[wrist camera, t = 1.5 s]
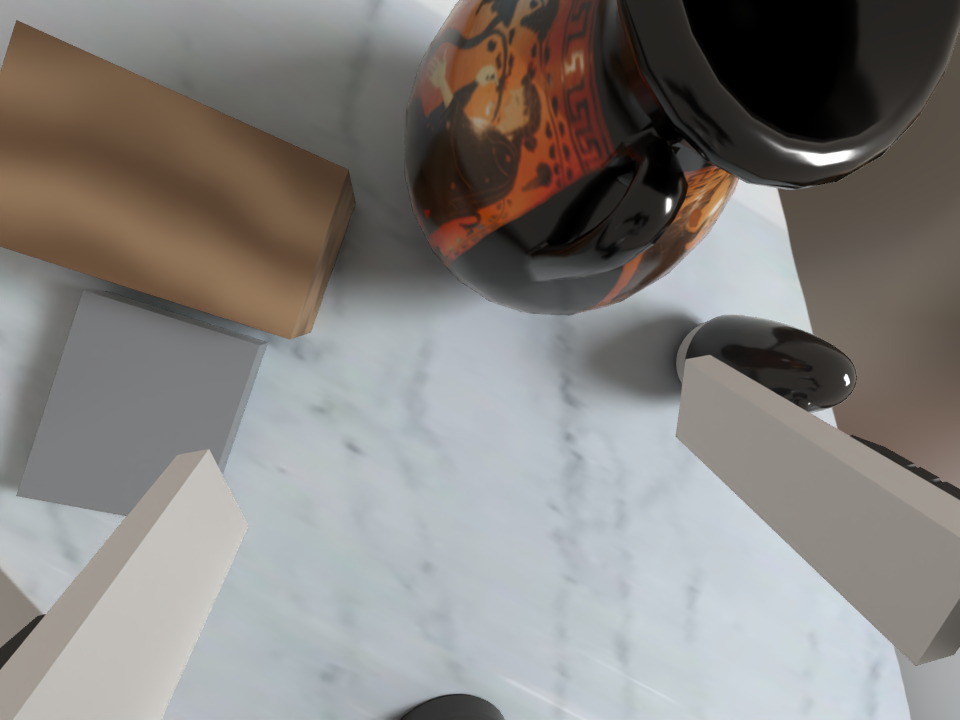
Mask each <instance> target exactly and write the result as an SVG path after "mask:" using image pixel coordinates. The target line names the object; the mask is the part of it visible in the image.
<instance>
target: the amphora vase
mask: <svg viewBox="0 0 960 720" xmlns="http://www.w3.org/2000/svg"><path fill="white" fill-rule="evenodd" d="M959 31H960V0H459V1H458V2H457V3H456V5H455V6H454V8H453V9H452V11H451V13H450V14H449V16H448V17H447V19H446V20H445V22H444V24H443V25H442V27H441V28H440V30H439V31H438V33H437V35H436V36H435V38H434V39H433V41H432V42H431V44H430V46H429V48H428V50H427V52H426V54H425V56H424V58H423V59H422V61H421V63H420V65H419V68H418V71H417V75H416V78H415V82H414V85H413V89H412V92H411V96H410V99H409V103H408V106H407V110H406V122H405V160H404V173H405V178H406V182H407V187H408V191H409V195H410V200H411V204H412V209H413V213H414V215H415V217H416V219H417V221H418V223H419V225H420V227H421V229H422V231H423V233H424V235H425V237H426V239H427V241H428V243H429V245H430V247H431V248H432V250H433V252H434V253H435V254H436V255H437V256H438V257H439V258H440V260H441V261H442V262H443V263H444V264H445V265H446V266H447V268H448V269H449V270H450V271H451V272H452V273H453V274H454V276H455V277H456V278H457V279H458V280H459V281H461V282H462V283H463V284H465V285H466V286H468V287H469V288H471V289H472V290H474V291H475V292H477V293H478V294H480V295H481V296H482V297H484V298H485V299H487V300H488V301H491V302H494V303H497V304H500V305H503V306H506V307H509V308H512V309H515V310H518V311H520V312H526V313H532V314H551V315H573V314H577V313H581V312H586V311H590V310H594V309H598V308H602V307H606V306H609V305H612V304H615V303H618V302H621V301H623V300H625V299H627V298H628V297H630V296H632V295H634V294H635V293H637V292H639V291H641V290H642V289H644V288H646V287H648V286H649V285H651V284H653V283H654V282H656V281H657V280H659V279H661V278H662V277H664V276H665V275H667V274H668V273H669V272H670V271H671V270H672V269H673V268H675V267H676V266H677V265H678V264H679V263H680V262H681V261H682V260H683V259H684V258H685V257H686V256H687V255H688V254H689V253H690V252H691V251H692V250H693V249H694V248H695V247H696V246H697V245H698V244H699V243H700V242H701V241H702V240H703V239H704V238H705V237H706V236H707V234H708V233H709V231H710V230H711V229H712V227H713V226H714V224H715V223H716V221H717V219H718V218H719V216H720V214H721V213H722V211H723V209H724V208H725V206H726V204H727V203H728V201H729V199H730V198H731V196H732V195H733V193H734V191H735V189H736V186H737V183H738V180H739V179H741V180H742V181H744V182H746V183H749V184H756V185H762V186H768V187H775V188H782V189H787V190H789V189H790V190H791V189H802V188H807V187H812V186H817V185H823V184H828V183H833V182H838V181H839V180H841V179H843V178H845V177H847V176H848V175H850V174H852V173H853V172H855V171H857V170H859V169H860V168H862V167H864V166H865V165H867V164H869V163H871V162H872V161H874V160H876V159H878V158H879V157H881V156H882V155H883V154H884V153H885V152H886V151H887V150H888V149H889V148H890V147H891V146H892V145H893V144H894V143H895V142H896V141H897V140H898V139H899V138H900V137H901V136H902V135H903V134H904V132H905V131H906V130H907V129H908V128H909V127H910V126H911V125H912V124H913V123H914V122H915V120H916V119H917V118H918V117H919V116H920V114H921V112H922V111H923V109H924V107H925V106H926V104H927V102H928V101H929V99H930V97H931V96H932V94H933V92H934V91H935V89H936V87H937V86H938V84H939V82H940V81H941V79H942V77H943V76H944V74H945V71H946V68H947V65H948V63H949V60H950V57H951V54H952V51H953V48H954V46H955V42H956V40H957V37H958V34H959Z"/></svg>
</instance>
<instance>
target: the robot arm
mask: <svg viewBox="0 0 960 720" xmlns="http://www.w3.org/2000/svg"><path fill="white" fill-rule="evenodd" d="M676 437H677V438H678V439H679V440H680V441H681V442H682V443H683V444H684V445H685V446H686V447H687V448H688V449H689V450H690V451H691V452H692V453H693V454H695V455H696V456H697V457H698V458H699V459H700V460H701V461H702V462H703V463H704V464H705V465H706V466H707V467H708V468H709V469H710V470H711V471H712V472H713V473H714V474H715V475H716V476H718V477H719V478H720V479H721V480H722V481H723V482H724V483H725V484H726V485H727V486H728V487H729V488H730V489H731V490H732V491H733V492H734V493H735V494H736V495H737V496H738V497H739V498H740V499H742V500H743V501H744V502H745V503H746V504H747V505H748V506H749V507H750V508H751V509H752V510H753V511H754V512H755V513H756V514H757V515H758V516H759V517H760V518H761V519H762V520H763V521H765V522H766V523H767V524H768V525H769V526H770V527H771V528H772V529H773V530H774V531H775V532H776V533H777V534H778V535H779V536H780V537H781V538H782V539H783V540H784V541H785V542H786V543H787V544H789V545H790V546H791V547H792V548H793V549H794V550H795V551H796V552H797V553H798V554H799V555H800V556H801V557H802V558H803V559H804V560H805V561H806V562H807V563H808V564H809V565H810V566H812V567H813V568H814V569H815V570H816V571H817V572H818V573H819V574H820V575H821V576H822V577H823V578H824V579H825V580H826V581H827V582H828V583H829V584H830V585H831V586H832V587H833V588H835V589H836V590H837V591H838V592H839V593H840V594H841V595H842V596H843V597H844V598H845V599H846V600H847V601H848V602H849V603H850V604H851V605H852V606H853V607H854V608H855V609H856V610H857V611H859V612H860V613H861V614H862V615H863V616H864V617H865V618H866V619H867V620H868V621H869V622H870V623H871V624H872V625H873V626H874V627H875V628H876V629H877V630H878V631H879V632H880V633H882V634H883V635H884V636H885V637H886V638H887V639H888V640H889V641H890V642H891V643H892V644H893V645H894V646H895V647H896V648H897V649H898V650H899V651H900V652H901V653H902V654H903V655H905V656H906V657H907V658H908V659H909V660H910V661H911V662H912V663H913V664H914V665H915V666H917V665H921V664H924V663H927V662H931V661H934V660H937V659H941V658H944V657H948V656H951V655H954V654H955V653H956V651H957V650H958V648H959V647H960V489H959V488H957V487H955V486H953V485H952V484H950V483H948V482H942V481H941V480H940V478H939V477H937V476H936V475H934V474H932V473H930V472H928V471H926V470H925V469H923V468H921V467H919V468H917V467H916V466H915V464H914V463H912V462H910V461H909V460H907V459H905V458H903V457H902V456H900V455H898V454H896V453H895V452H893V451H891V450H889V449H887V448H886V447H883V446H881V445H877V444H875V443H872V442H870V441H867V440H864V439H861V438H859V437H856V436H853V435H851V436H848V435H847V434H845V433H843V432H842V431H840V430H838V429H836V428H835V427H833V426H831V425H830V424H828V423H826V422H824V421H823V420H821V419H819V418H818V417H816V416H814V415H812V414H811V413H809V412H807V411H805V410H804V409H802V408H800V407H799V406H797V405H795V404H793V403H792V402H790V401H788V400H787V399H785V398H783V397H781V396H780V395H778V394H776V393H775V392H773V391H771V390H769V389H768V388H766V387H764V386H763V385H761V384H759V383H757V382H756V381H754V380H752V379H750V378H749V377H747V376H745V375H744V374H742V373H740V372H738V371H737V370H735V369H733V368H732V367H730V366H728V365H726V364H725V363H723V362H721V361H720V360H718V359H716V358H714V357H713V356H711V355H706V356H701V357H696V358H690V359H686V360H685V368H684V376H683V384H682V391H681V399H680V407H679V415H678V423H677V431H676ZM247 529H248V524H247V522H246V520H245V518H244V516H243V514H242V512H241V510H240V508H239V506H238V504H237V502H236V500H235V499H234V497H233V495H232V493H231V491H230V489H229V487H228V485H227V483H226V481H225V479H224V477H223V475H222V473H221V471H220V469H219V467H218V465H217V463H216V462H215V460H214V458H213V456H212V454H211V452H210V450H209V449H206V450H201V451H196V452H190V453H185V454H180V455H177V456H176V457H175V458H174V459H173V461H172V462H171V463H170V464H169V466H168V467H167V468H166V469H165V470H164V472H163V473H162V474H161V475H160V476H159V478H158V479H157V480H156V481H155V483H154V484H153V485H152V486H151V487H150V489H149V490H148V491H147V492H146V493H145V495H144V496H143V497H142V498H141V500H140V501H139V502H138V503H137V504H136V506H135V507H134V508H133V509H132V511H131V512H130V513H129V514H128V515H127V517H126V518H125V519H124V520H123V521H122V523H121V524H120V525H119V526H118V528H117V529H116V530H115V531H114V532H113V534H112V535H111V536H110V537H109V538H108V540H107V541H106V542H105V543H104V545H103V546H102V547H101V548H100V549H99V551H98V552H97V553H96V554H95V555H94V557H93V558H92V559H91V560H90V562H89V563H88V564H87V565H86V566H85V568H84V569H83V570H82V571H81V572H80V574H79V575H78V576H77V577H76V579H75V580H74V581H73V582H72V583H71V585H70V586H69V587H68V588H67V589H66V591H65V592H64V593H63V594H62V596H61V597H60V598H59V599H58V600H57V602H56V603H55V604H54V605H53V606H52V608H51V609H50V610H49V611H48V613H47V614H45V615H40V616H37V617H36V618H35V619H34V620H32V622H30V623H29V624H28V625H27V626H25V627H24V628H23V629H22V630H21V631H20V632H18V633H17V634H16V635H15V636H14V637H13V638H11V640H9V641H8V642H7V643H6V644H5V645H4V646H2V647H1V648H0V720H162V717H163V715H164V713H165V711H166V709H167V706H168V704H169V702H170V700H171V697H172V695H173V693H174V691H175V689H176V686H177V684H178V682H179V680H180V677H181V675H182V673H183V671H184V669H185V666H186V664H187V662H188V660H189V657H190V655H191V653H192V651H193V649H194V646H195V644H196V642H197V640H198V637H199V635H200V633H201V631H202V629H203V626H204V624H205V622H206V620H207V618H208V615H209V613H210V611H211V609H212V606H213V604H214V602H215V600H216V598H217V595H218V593H219V591H220V589H221V586H222V584H223V582H224V580H225V578H226V575H227V573H228V571H229V569H230V566H231V564H232V562H233V560H234V558H235V555H236V553H237V551H238V549H239V546H240V544H241V542H242V540H243V538H244V535H245V533H246V531H247ZM401 720H505V719H504V717H503V715H502V714H501V713H500V711H499V710H498V709H497V708H496V707H495V706H494V705H492V704H491V703H489V702H488V701H486V700H484V699H481V698H478V697H475V696H469V695H452V696H446V697H442V698H438V699H435V700H432V701H430V702H427V703H425V704H423V705H421V706H419V707H418V708H416V709H414V710H413V711H411V712H410V713H408V714H407V715H406V716H405V717H403V718H402V719H401Z"/></svg>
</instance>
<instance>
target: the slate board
mask: <svg viewBox="0 0 960 720" xmlns="http://www.w3.org/2000/svg"><path fill="white" fill-rule="evenodd" d="M267 344H268V342H265V341H262V340H259V339H255V338H252V337H249V336H246V335H243V334H240V333H236V332H233V331H230V330H227V329H224V328H221V327H217V326H214V325H211V324H208V323H205V322H202V321H198V320H195V319H192V318H189V317H186V316H183V315H179V314H176V313H173V312H170V311H167V310H164V309H160V308H157V307H154V306H151V305H148V304H145V303H141V302H138V301H135V300H132V299H129V298H126V297H122V296H119V295H116V294H113V293H110V292H107V291H91V290H83V292H82V295H81V298H80V301H79V304H78V307H77V310H76V313H75V316H74V320H73V323H72V326H71V329H70V332H69V335H68V338H67V341H66V344H65V347H64V350H63V353H62V356H61V360H60V363H59V366H58V369H57V372H56V375H55V378H54V381H53V384H52V387H51V390H50V393H49V396H48V400H47V403H46V406H45V409H44V412H43V415H42V418H41V421H40V424H39V427H38V430H37V433H36V436H35V440H34V443H33V446H32V449H31V452H30V455H29V458H28V461H27V464H26V467H25V470H24V473H23V476H22V480H21V483H20V486H19V489H18V492H17V495H16V496H20V497H25V498H31V499H36V500H42V501H47V502H53V503H58V504H64V505H69V506H74V507H80V508H85V509H91V510H96V511H102V512H107V513H113V514H118V515H124V516H127V515H128V514H129V513H130V512H131V511H132V509H133V508H134V507H135V506H136V504H137V503H138V502H139V501H140V500H141V498H142V497H143V496H144V495H145V493H146V492H147V491H148V490H149V489H150V487H151V486H152V485H153V484H154V483H155V481H156V480H157V479H158V478H159V476H160V475H161V474H162V473H163V472H164V470H165V469H166V468H167V467H168V466H169V464H170V463H171V462H172V461H173V459H174V458H175V457H176V456H177V455H180V454H185V453H190V452H196V451H201V450H206V449H209V450H210V452H211V454H212V456H213V458H214V460H215V462H216V463H217V465H218V467H219V469H220V471H221V473H222V474H223V472H224V469H225V466H226V463H227V460H228V457H229V454H230V451H231V448H232V445H233V443H234V440H235V437H236V434H237V431H238V428H239V425H240V422H241V419H242V416H243V413H244V411H245V408H246V405H247V402H248V399H249V396H250V393H251V390H252V387H253V384H254V382H255V379H256V376H257V373H258V370H259V367H260V364H261V361H262V358H263V355H264V353H265V350H266V347H267Z"/></svg>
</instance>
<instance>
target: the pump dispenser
mask: <svg viewBox="0 0 960 720" xmlns="http://www.w3.org/2000/svg"><path fill="white" fill-rule="evenodd" d="M706 355H711V356H713V357H714V358H716V359H718V360H720V361H721V362H723V363H725V364H726V365H728V366H730V367H732V368H733V369H735V370H737V371H738V372H740V373H742V374H744V375H745V376H747V377H749V378H750V379H752V380H754V381H756V382H757V383H759V384H761V385H763V386H764V387H766V388H768V389H769V390H771V391H773V392H775V393H776V394H778V395H780V396H781V397H783V398H785V399H787V400H788V401H790V402H792V403H793V404H795V405H797V406H799V407H800V408H802V409H804V410H805V411H807V412H809V413H813V412H818V411H822V410H825V409H829V408H832V407H834V406H836V405H838V404H840V403H842V402H843V401H845V400H846V399H847V398H848V397H849V396H850V395H851V393H852V392H853V390H854V388H855V386H856V382H857V372H856V369H855V366H854V364H853V362H852V361H851V359H850V358H849V357H848V356H847V355H846V354H845V353H843V352H842V351H841V350H840V349H838V348H836V347H835V346H834V345H832V344H830V343H829V342H827V341H825V340H823V339H821V338H819V337H817V336H815V335H813V334H811V333H808V332H806V331H803V330H801V329H798V328H796V327H793V326H790V325H787V324H783V323H780V322H776V321H772V320H768V319H763V318H757V317H751V316H745V315H722V316H718V317H716V318H713V319H712V320H710V321H707V322H705V323H703V324H701V325H699V326H697V327H696V328H694V329H693V330H692V331H691V332H690V333H689V334H688V335H687V336H686V337H685V338H684V340H683V341H682V343H681V345H680V347H679V350H678V353H677V359H676V368H677V373H678V376H679V379H680V381H681V383H682V384H683V376H684V368H685V360H686V359H690V358H696V357H701V356H706Z"/></svg>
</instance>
